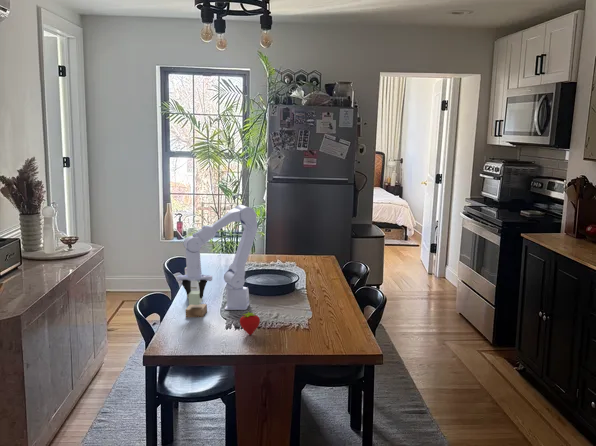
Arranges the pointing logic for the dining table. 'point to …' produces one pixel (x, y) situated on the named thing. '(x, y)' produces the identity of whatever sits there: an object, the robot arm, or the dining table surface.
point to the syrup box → (193, 283)
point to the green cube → (194, 298)
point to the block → (196, 310)
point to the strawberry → (249, 322)
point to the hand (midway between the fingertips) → (195, 297)
